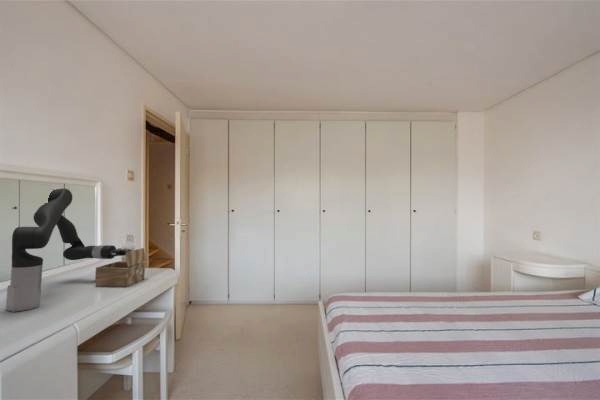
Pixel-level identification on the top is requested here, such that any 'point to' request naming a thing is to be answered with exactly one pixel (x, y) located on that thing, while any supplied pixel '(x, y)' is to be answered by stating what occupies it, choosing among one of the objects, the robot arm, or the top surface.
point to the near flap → (135, 257)
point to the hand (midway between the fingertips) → (135, 252)
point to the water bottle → (127, 246)
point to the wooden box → (119, 274)
